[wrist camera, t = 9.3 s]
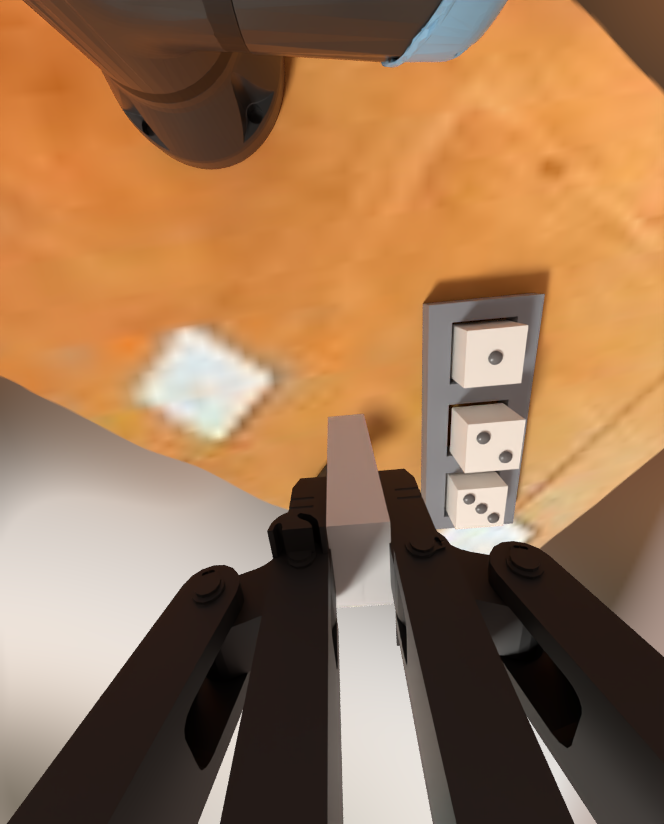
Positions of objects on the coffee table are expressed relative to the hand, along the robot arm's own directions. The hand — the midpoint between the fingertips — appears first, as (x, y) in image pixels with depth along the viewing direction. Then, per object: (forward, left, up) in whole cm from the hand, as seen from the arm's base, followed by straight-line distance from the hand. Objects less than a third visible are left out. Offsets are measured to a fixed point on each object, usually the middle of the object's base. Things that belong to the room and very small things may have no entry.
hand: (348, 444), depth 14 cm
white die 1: (+2, +16, -26) cm, 30 cm away
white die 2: (+21, +16, -26) cm, 37 cm away
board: (+12, +16, -26) cm, 33 cm away
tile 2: (+12, +16, -24) cm, 31 cm away
